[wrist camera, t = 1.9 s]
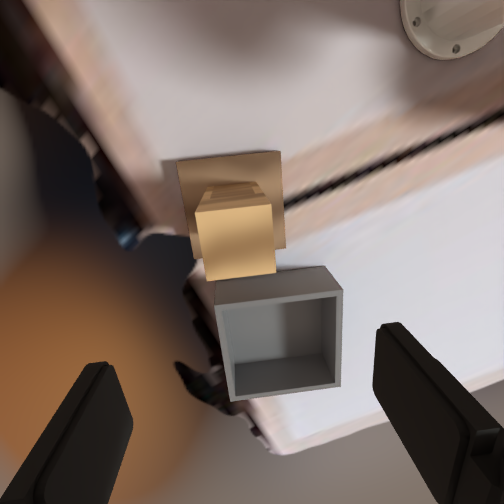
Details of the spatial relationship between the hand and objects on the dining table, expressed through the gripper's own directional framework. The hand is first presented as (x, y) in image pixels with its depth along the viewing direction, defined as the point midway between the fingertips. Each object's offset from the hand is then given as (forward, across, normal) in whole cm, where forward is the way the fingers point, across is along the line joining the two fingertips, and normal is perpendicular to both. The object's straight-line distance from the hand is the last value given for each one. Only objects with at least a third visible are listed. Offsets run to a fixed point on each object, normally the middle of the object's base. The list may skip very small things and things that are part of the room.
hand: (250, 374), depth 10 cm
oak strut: (+26, 0, 0) cm, 26 cm away
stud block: (+28, 0, 0) cm, 28 cm away
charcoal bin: (+28, -4, +18) cm, 34 cm away
